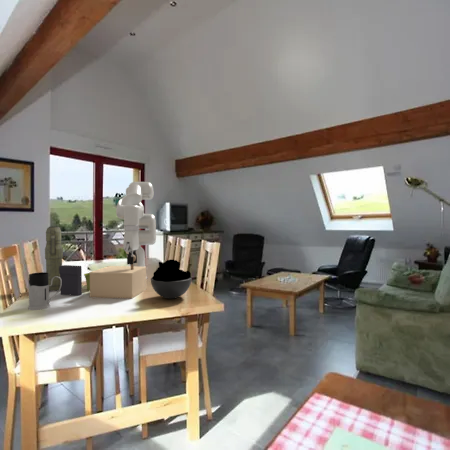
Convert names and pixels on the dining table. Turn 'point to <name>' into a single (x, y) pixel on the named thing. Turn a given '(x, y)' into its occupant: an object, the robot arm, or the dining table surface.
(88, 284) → the plant pot
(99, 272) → the flap
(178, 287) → the coal bowl
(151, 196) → the robot arm
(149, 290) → the dining table surface
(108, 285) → the carton
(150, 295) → the dining table surface
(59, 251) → the thermos
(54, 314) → the dining table surface
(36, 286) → the glass holder
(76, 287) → the dark grey box
